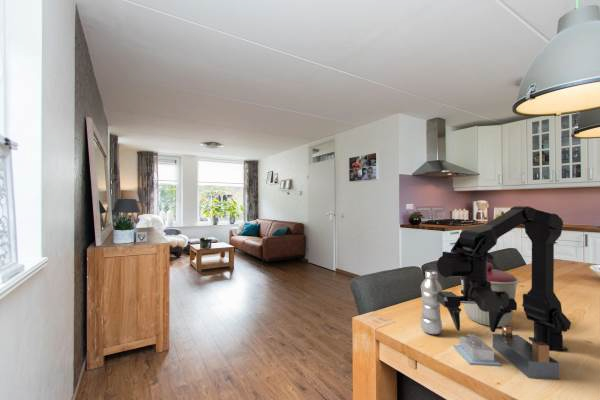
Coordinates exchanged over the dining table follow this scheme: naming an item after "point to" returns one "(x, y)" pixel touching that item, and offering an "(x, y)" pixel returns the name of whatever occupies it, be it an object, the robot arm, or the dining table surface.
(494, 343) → the body
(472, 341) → the lever cap
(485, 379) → the dining table surface
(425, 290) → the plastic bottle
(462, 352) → the rubber pad
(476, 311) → the canister
